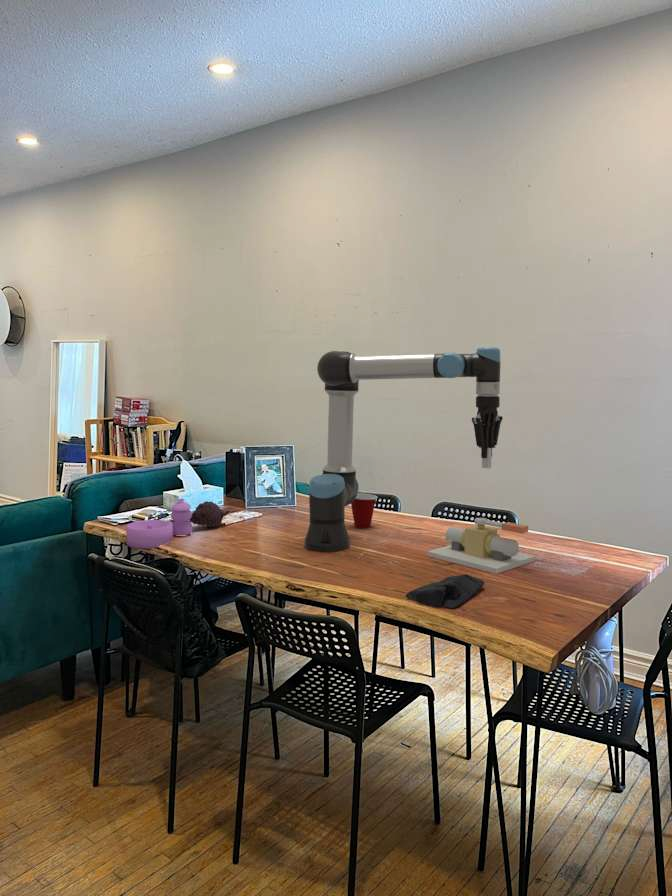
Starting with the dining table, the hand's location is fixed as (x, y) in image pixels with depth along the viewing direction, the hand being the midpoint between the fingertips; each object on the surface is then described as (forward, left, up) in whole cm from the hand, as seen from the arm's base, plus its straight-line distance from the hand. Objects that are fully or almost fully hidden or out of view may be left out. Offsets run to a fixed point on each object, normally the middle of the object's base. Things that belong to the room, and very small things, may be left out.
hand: (486, 467), depth 228 cm
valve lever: (-13, -15, -16) cm, 25 cm away
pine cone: (-53, +87, -27) cm, 105 cm away
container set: (-75, +82, -27) cm, 114 cm away
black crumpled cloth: (-47, -23, -27) cm, 59 cm away
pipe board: (-13, -8, -26) cm, 30 cm away
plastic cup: (-9, +49, -27) cm, 57 cm away
